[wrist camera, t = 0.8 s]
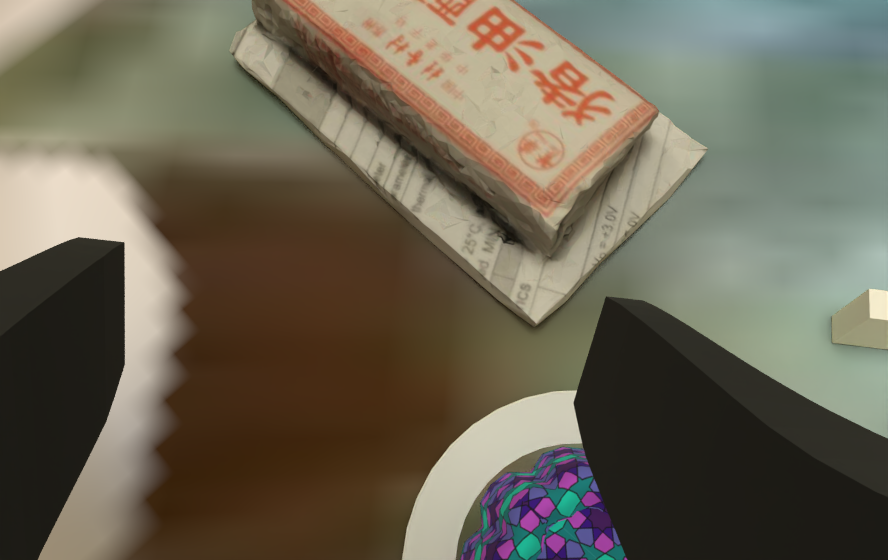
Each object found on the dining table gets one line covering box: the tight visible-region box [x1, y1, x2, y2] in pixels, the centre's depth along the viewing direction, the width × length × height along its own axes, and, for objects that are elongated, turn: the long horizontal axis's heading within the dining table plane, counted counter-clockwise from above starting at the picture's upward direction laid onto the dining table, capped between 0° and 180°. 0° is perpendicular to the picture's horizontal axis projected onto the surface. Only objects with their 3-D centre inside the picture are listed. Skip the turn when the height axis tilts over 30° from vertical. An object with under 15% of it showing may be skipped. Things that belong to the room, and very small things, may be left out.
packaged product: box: [229, 0, 708, 327], centre depth 30 cm, size 18×5×10 cm
